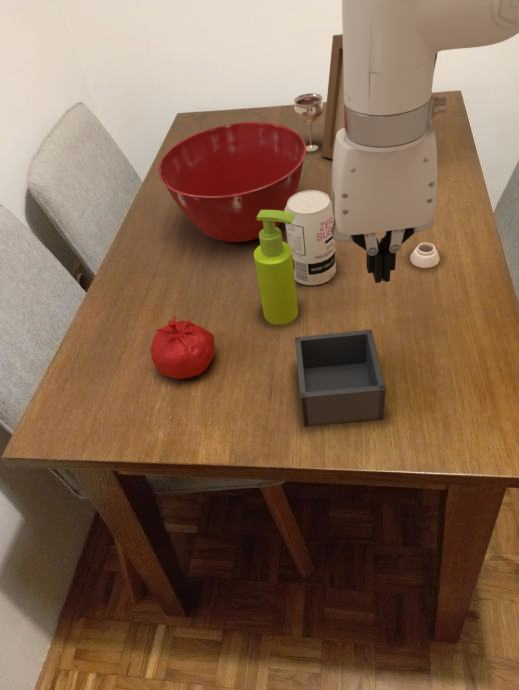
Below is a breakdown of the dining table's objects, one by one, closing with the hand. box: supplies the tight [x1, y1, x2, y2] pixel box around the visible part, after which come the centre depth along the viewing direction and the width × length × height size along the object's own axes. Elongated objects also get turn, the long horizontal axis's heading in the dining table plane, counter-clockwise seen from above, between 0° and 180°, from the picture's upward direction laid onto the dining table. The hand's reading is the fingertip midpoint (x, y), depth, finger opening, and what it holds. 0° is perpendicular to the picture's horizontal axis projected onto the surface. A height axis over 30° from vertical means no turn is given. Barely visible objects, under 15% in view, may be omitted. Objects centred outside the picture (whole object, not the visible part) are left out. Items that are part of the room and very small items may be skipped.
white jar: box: [409, 242, 441, 269], centre depth 93 cm, size 5×3×5 cm
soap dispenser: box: [253, 210, 299, 326], centre depth 82 cm, size 6×7×20 cm
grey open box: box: [294, 329, 387, 428], centre depth 74 cm, size 7×11×11 cm
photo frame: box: [321, 33, 439, 160], centre depth 113 cm, size 15×22×25 cm
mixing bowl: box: [157, 121, 307, 243], centre depth 105 cm, size 28×28×16 cm
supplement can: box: [284, 189, 337, 286], centre depth 91 cm, size 8×8×15 cm
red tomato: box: [150, 315, 216, 380], centre depth 81 cm, size 10×10×9 cm
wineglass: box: [293, 92, 324, 152], centre depth 125 cm, size 7×7×12 cm
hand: (380, 274), depth 61 cm, fingers closed
